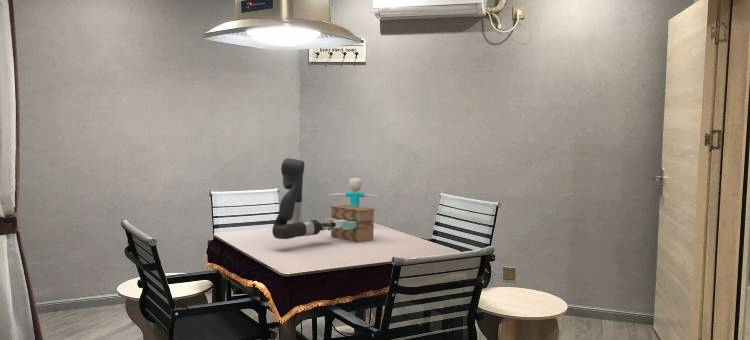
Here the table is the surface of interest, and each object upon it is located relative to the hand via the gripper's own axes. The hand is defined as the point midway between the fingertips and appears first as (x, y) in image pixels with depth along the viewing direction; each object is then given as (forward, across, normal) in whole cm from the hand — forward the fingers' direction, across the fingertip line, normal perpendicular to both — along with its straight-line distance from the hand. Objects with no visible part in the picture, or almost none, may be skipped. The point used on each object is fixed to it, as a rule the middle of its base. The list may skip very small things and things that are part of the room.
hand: (334, 224), depth 342 cm
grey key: (+6, +7, +2) cm, 9 cm away
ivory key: (+6, 0, +2) cm, 6 cm away
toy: (+38, +24, +9) cm, 46 cm away
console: (+13, 0, +9) cm, 15 cm away
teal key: (+6, -7, +2) cm, 9 cm away
